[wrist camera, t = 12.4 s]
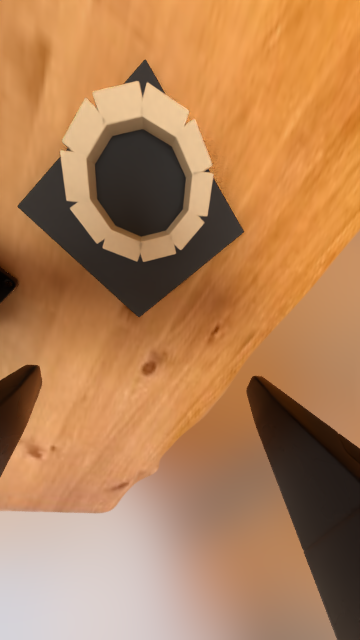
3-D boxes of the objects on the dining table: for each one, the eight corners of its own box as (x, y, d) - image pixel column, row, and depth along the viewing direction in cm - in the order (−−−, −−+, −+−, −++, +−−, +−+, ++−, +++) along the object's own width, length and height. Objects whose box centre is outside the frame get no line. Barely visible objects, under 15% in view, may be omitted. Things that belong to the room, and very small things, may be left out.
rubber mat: (139, 315, 21) (138, 317, 20) (19, 206, 15) (16, 206, 15) (242, 231, 18) (244, 231, 18) (145, 62, 13) (145, 58, 12)
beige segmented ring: (129, 274, 18) (127, 284, 16) (41, 155, 14) (22, 147, 11) (222, 215, 17) (233, 217, 15) (160, 61, 12) (163, 34, 10)
